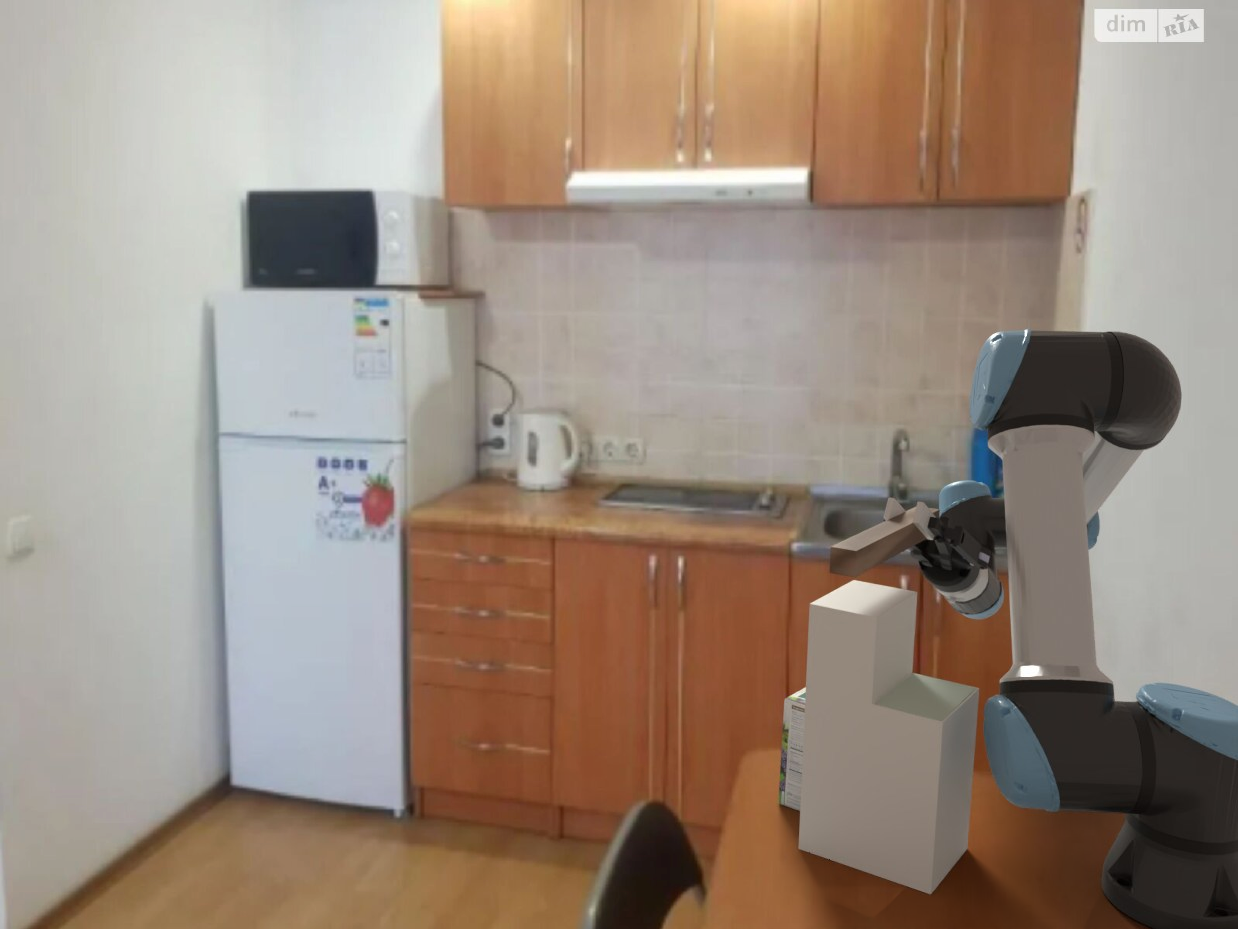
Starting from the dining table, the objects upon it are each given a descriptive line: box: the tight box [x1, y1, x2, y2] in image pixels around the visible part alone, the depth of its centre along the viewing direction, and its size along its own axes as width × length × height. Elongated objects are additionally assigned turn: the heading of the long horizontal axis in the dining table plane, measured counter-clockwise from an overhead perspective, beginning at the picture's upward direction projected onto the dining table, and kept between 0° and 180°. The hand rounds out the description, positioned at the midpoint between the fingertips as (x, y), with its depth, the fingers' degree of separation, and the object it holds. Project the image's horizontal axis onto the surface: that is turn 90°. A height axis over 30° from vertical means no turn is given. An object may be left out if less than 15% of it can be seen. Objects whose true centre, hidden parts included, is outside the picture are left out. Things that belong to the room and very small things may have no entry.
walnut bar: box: [829, 506, 940, 578], centre depth 132 cm, size 3×26×3 cm, turn 145°
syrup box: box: [778, 686, 806, 812], centre depth 141 cm, size 6×6×14 cm
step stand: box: [798, 579, 980, 895], centre depth 129 cm, size 16×12×30 cm
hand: (903, 510), depth 135 cm, fingers closed on walnut bar, 3 cm apart
